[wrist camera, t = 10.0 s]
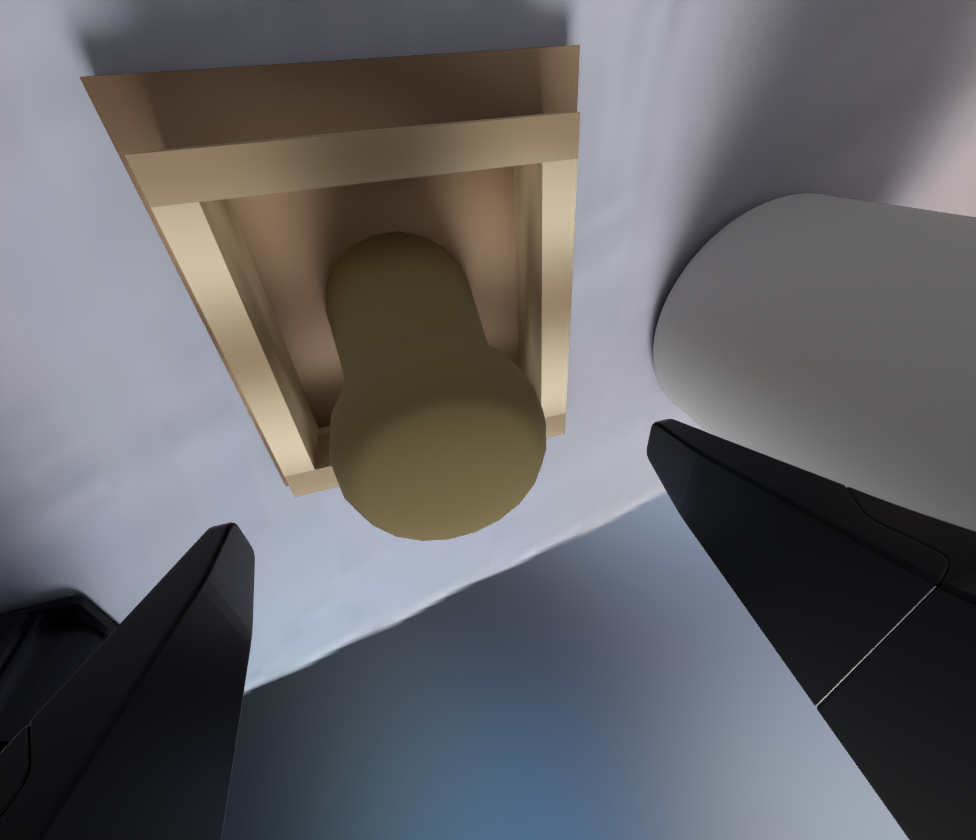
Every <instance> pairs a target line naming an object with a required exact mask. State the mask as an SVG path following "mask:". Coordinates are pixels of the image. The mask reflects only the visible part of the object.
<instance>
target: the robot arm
mask: <svg viewBox="0 0 976 840" xmlns="http://www.w3.org/2000/svg"><path fill="white" fill-rule="evenodd" d="M647 456H648V459H649V461H650V463H651V464H652V466H653V468H654V470H655V472H656V473H657V475H658V477H659V479H660V481H661V482H662V484H663V486H664V488H665V489H666V491H667V493H668V495H669V496H670V498H671V500H672V502H673V504H674V505H675V507H676V509H677V510H678V512H679V514H680V515H681V517H682V518H683V520H684V521H685V522H686V524H687V525H688V527H689V528H690V530H691V531H692V533H693V534H694V535H695V537H696V538H697V540H698V541H699V542H700V544H701V545H702V547H703V548H704V550H705V551H706V552H707V554H708V555H709V557H710V558H711V559H712V561H713V562H714V564H715V565H716V566H717V568H718V569H719V571H720V572H721V574H722V575H723V576H724V578H725V579H726V580H727V582H728V583H729V585H730V586H731V588H732V589H733V590H734V592H735V593H736V595H737V596H738V598H739V599H740V600H741V602H742V603H743V605H744V606H745V607H746V609H747V610H748V612H749V613H750V615H751V616H752V617H753V619H754V620H755V621H756V623H757V624H758V626H759V627H760V629H761V630H762V632H763V633H764V634H765V636H766V637H767V639H768V640H769V641H770V643H771V644H772V646H773V647H774V648H775V650H776V651H777V653H778V654H779V656H780V657H781V658H782V660H783V661H784V663H785V664H786V665H787V667H788V668H789V670H790V671H791V673H792V674H793V675H794V677H795V678H796V680H797V681H798V682H799V684H800V685H801V687H802V688H803V689H804V691H805V692H806V694H807V695H808V697H809V698H810V699H811V701H812V702H813V704H814V705H815V706H817V710H818V711H819V713H820V714H821V715H822V717H823V718H824V720H825V721H826V722H827V724H828V725H829V727H830V728H831V729H832V731H833V732H834V734H835V735H836V737H837V738H838V739H839V741H840V742H841V744H842V745H843V746H844V748H845V749H846V751H847V752H848V754H849V755H850V756H851V758H852V759H853V761H854V762H855V763H856V765H857V766H858V768H859V769H860V770H861V772H862V773H863V775H864V776H865V777H866V779H867V780H868V782H869V783H870V785H871V786H872V787H873V789H874V790H875V792H876V793H877V795H878V796H879V797H880V798H881V800H882V801H883V803H884V804H885V806H886V807H887V809H888V810H889V811H890V813H891V814H892V816H893V817H894V819H895V820H896V821H897V823H898V824H899V826H900V827H901V828H902V830H903V831H904V833H905V834H906V835H907V837H908V838H909V840H976V531H973V530H970V529H967V528H964V527H961V526H958V525H955V524H952V523H949V522H946V521H943V520H940V519H937V518H934V517H931V516H928V515H925V514H922V513H919V512H916V511H913V510H910V509H907V508H904V507H902V506H899V505H896V504H893V503H891V502H888V501H885V500H882V499H880V498H877V497H874V496H872V495H869V494H866V493H864V492H861V491H859V490H856V489H854V488H851V487H845V485H843V484H840V483H838V482H835V481H832V480H830V479H827V478H825V477H822V476H819V475H817V474H814V473H812V472H809V471H806V470H804V469H801V468H799V467H796V466H793V465H791V464H788V463H786V462H783V461H780V460H778V459H775V458H772V457H770V456H767V455H765V454H762V453H759V452H757V451H754V450H752V449H749V448H746V447H744V446H741V445H739V444H736V443H733V442H731V441H728V440H725V439H723V438H720V437H718V436H715V435H712V434H710V433H707V432H705V431H702V430H699V429H697V428H694V427H692V426H689V425H686V424H684V423H681V422H678V421H676V420H673V419H666V420H662V421H658V422H655V423H654V424H653V425H652V427H651V431H650V436H649V441H648V446H647ZM254 567H255V556H254V551H253V549H252V547H251V545H250V543H249V542H248V540H247V539H246V537H245V536H244V534H243V533H242V531H241V530H240V528H239V527H238V526H237V524H235V523H226V524H222V525H217V526H213V527H211V528H209V529H208V530H207V531H206V532H205V533H204V534H203V535H202V536H201V537H200V538H199V540H198V541H197V542H196V543H195V544H194V545H193V546H192V547H191V548H190V549H189V550H188V551H187V552H186V554H185V555H184V556H183V557H182V558H181V559H180V560H179V561H178V562H177V563H176V564H175V565H174V566H173V568H172V569H171V570H170V571H169V572H168V573H167V574H166V575H165V576H164V577H163V578H162V579H161V580H160V582H159V583H158V584H157V585H156V586H155V587H154V588H153V589H152V590H151V591H150V592H149V593H148V594H147V596H146V597H145V598H144V599H143V600H142V601H141V602H140V603H139V604H138V605H137V606H136V607H135V608H134V610H133V611H132V612H131V613H130V614H129V615H128V616H127V617H126V618H125V619H124V620H123V621H122V622H121V624H120V625H119V626H116V625H115V624H114V623H113V622H112V621H111V620H109V619H108V618H107V617H106V616H105V615H104V614H102V613H101V612H100V611H99V610H98V609H97V608H95V607H94V606H93V605H92V604H91V603H90V602H88V601H87V600H86V599H84V598H82V597H78V596H72V597H67V598H63V599H59V600H55V601H51V602H47V603H43V604H39V605H35V606H31V607H27V608H23V609H19V610H15V611H12V612H8V613H4V614H0V840H221V837H222V831H223V825H224V818H225V812H226V805H227V799H228V792H229V785H230V778H231V772H232V765H233V759H234V752H235V745H236V739H237V731H238V726H239V719H240V713H241V706H242V699H243V693H244V686H245V680H246V673H247V666H248V660H249V653H250V646H251V638H252V627H253V600H254Z"/></svg>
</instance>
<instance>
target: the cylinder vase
mask: <svg viewBox="0 0 976 840" xmlns="http://www.w3.org/2000/svg"><path fill="white" fill-rule="evenodd" d="M653 362H654V369H655V374H656V377H657V380H658V383H659V385H660V387H661V389H662V390H663V392H664V393H665V395H666V396H667V397H668V398H669V399H670V400H671V401H672V402H673V403H674V404H675V405H676V406H677V407H679V408H680V409H681V410H682V411H683V412H684V413H686V414H687V415H688V416H689V417H690V418H691V419H693V420H694V421H695V422H696V423H697V424H698V425H700V426H701V427H702V428H703V429H704V430H705V431H707V432H708V433H710V434H712V435H715V436H718V437H720V438H723V439H725V440H728V441H731V442H733V443H736V444H739V445H741V446H744V447H746V448H749V449H752V450H754V451H757V452H759V453H762V454H765V455H767V456H770V457H772V458H775V459H778V460H780V461H783V462H786V463H788V464H791V465H793V466H796V467H799V468H801V469H804V470H806V471H809V472H812V473H814V474H817V475H819V476H822V477H825V478H827V479H830V480H832V481H835V482H838V483H840V484H843V485H845V487H851V488H854V489H856V490H859V491H861V492H864V493H866V494H869V495H872V496H874V497H877V498H880V499H882V500H885V501H888V502H891V503H893V504H896V505H899V506H902V507H904V508H907V509H910V510H913V511H916V512H919V513H922V514H925V515H928V516H931V517H934V518H937V519H940V520H943V521H946V522H949V523H952V524H955V525H958V526H961V527H964V528H967V529H970V530H973V531H976V217H970V216H963V215H957V214H950V213H943V212H937V211H930V210H923V209H917V208H910V207H903V206H897V205H890V204H883V203H877V202H870V201H863V200H857V199H850V198H843V197H837V196H830V195H823V194H815V193H803V194H794V195H788V196H784V197H780V198H777V199H774V200H771V201H768V202H766V203H763V204H761V205H759V206H757V207H755V208H753V209H751V210H749V211H747V212H746V213H744V214H742V215H741V216H739V217H738V218H736V219H735V220H733V221H732V222H730V223H729V224H728V225H726V226H725V227H724V228H723V229H721V230H720V231H719V232H718V233H717V234H716V235H714V236H713V237H712V238H711V239H710V240H709V241H708V242H707V243H706V244H705V245H704V246H703V247H702V248H701V249H700V250H699V251H698V253H697V254H696V255H695V256H694V257H693V258H692V260H691V261H690V262H689V263H688V265H687V266H686V268H685V269H684V270H683V272H682V273H681V275H680V276H679V278H678V279H677V281H676V283H675V284H674V286H673V288H672V289H671V291H670V293H669V295H668V297H667V299H666V302H665V304H664V306H663V309H662V311H661V314H660V317H659V320H658V323H657V327H656V331H655V337H654V344H653Z"/></svg>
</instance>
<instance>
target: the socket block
mask: <svg viewBox="0 0 976 840" xmlns="http://www.w3.org/2000/svg"><path fill="white" fill-rule="evenodd" d="M579 50H580V45H571V46H555V47H540V48H524V49H508V50H493V51H477V52H462V53H446V54H430V55H415V56H399V57H383V58H368V59H352V60H337V61H321V62H305V63H290V64H274V65H258V66H243V67H227V68H212V69H196V70H180V71H165V72H149V73H133V74H118V75H102V76H87V77H80V79H81V81H82V83H83V85H84V87H85V89H86V91H87V93H88V95H89V97H90V99H91V101H92V103H93V105H94V107H95V109H96V111H97V113H98V115H99V117H100V119H101V121H102V123H103V125H104V127H105V129H106V131H107V132H108V134H109V136H110V138H111V140H112V142H113V144H114V146H115V148H116V150H117V152H118V154H119V156H120V158H121V160H122V162H123V164H124V166H125V168H126V170H127V172H128V174H129V176H130V178H131V180H132V182H133V184H134V186H135V188H136V190H137V192H138V194H139V196H140V198H141V200H142V202H143V204H144V206H145V208H146V210H147V212H148V214H149V216H150V218H151V220H152V222H153V224H154V226H155V228H156V230H157V232H158V234H159V236H160V238H161V240H162V242H163V244H164V246H165V248H166V250H167V252H168V254H169V255H170V257H171V259H172V261H173V263H174V265H175V267H176V269H177V271H178V273H179V275H180V277H181V279H182V281H183V283H184V285H185V287H186V289H187V291H188V293H189V295H190V297H191V299H192V301H193V303H194V305H195V307H196V309H197V311H198V313H199V315H200V317H201V319H202V321H203V323H204V325H205V327H206V329H207V331H208V333H209V335H210V337H211V339H212V341H213V343H214V345H215V347H216V349H217V351H218V353H219V355H220V357H221V359H222V361H223V363H224V365H225V367H226V369H227V371H228V373H229V375H230V376H231V378H232V380H233V382H234V384H235V386H236V388H237V390H238V392H239V394H240V396H241V398H242V400H243V402H244V404H245V406H246V408H247V410H248V412H249V414H250V416H251V418H252V420H253V422H254V424H255V426H256V428H257V430H258V432H259V434H260V436H261V438H262V440H263V442H264V444H265V446H266V448H267V450H268V452H269V454H270V456H271V458H272V460H273V462H274V464H275V466H276V468H277V470H278V472H279V474H280V476H281V478H282V480H283V482H284V484H285V486H289V487H290V489H291V491H292V493H293V495H294V497H297V496H301V495H305V494H310V493H314V492H318V491H322V490H327V489H331V488H335V487H339V483H338V481H337V478H336V476H335V474H334V471H333V468H332V465H331V463H330V460H329V441H330V422H331V413H332V411H333V409H334V407H335V405H336V402H337V400H338V398H339V396H340V394H341V391H342V389H343V387H344V385H345V383H346V381H345V378H344V374H343V371H342V367H341V363H340V360H339V356H338V353H337V349H336V346H335V342H334V338H333V335H332V331H331V328H330V324H329V321H328V317H327V313H326V287H327V284H328V281H329V279H330V276H331V274H332V271H333V269H334V266H335V264H336V263H337V262H338V261H339V260H340V259H341V258H342V257H343V255H344V254H345V253H346V252H347V251H348V250H349V249H350V248H351V247H352V246H354V245H355V244H357V243H359V242H361V241H363V240H365V239H367V238H369V237H370V236H372V235H376V234H383V233H390V232H397V231H400V232H405V233H410V234H416V235H421V236H424V237H426V238H428V239H430V240H431V241H433V242H435V243H437V244H439V245H440V246H442V247H444V248H445V249H446V250H447V251H448V252H449V253H450V254H451V255H452V257H453V258H454V259H455V260H456V261H457V262H458V263H459V264H460V265H461V268H462V270H463V272H464V274H465V277H466V279H467V281H468V283H469V285H470V288H471V292H472V295H473V298H474V301H475V304H476V307H477V311H478V314H479V317H480V320H481V323H482V326H483V330H484V333H485V336H486V339H487V342H488V345H489V346H492V347H494V348H496V349H497V350H499V351H501V352H503V353H504V354H505V355H506V356H507V357H508V358H509V359H510V360H511V361H512V362H513V363H514V364H515V365H516V366H517V367H518V368H519V369H520V370H521V371H522V372H523V373H524V374H525V375H526V377H527V378H528V379H529V381H530V382H531V383H532V385H533V387H534V389H535V392H536V394H537V397H538V399H539V401H540V404H541V406H542V409H543V412H544V417H545V421H546V438H548V437H552V436H556V435H560V434H565V420H566V399H567V378H568V356H569V335H570V313H571V292H572V271H573V249H574V228H575V207H576V185H577V164H578V143H579V121H580V112H577V97H578V74H579Z"/></svg>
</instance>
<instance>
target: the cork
mask: <svg viewBox="0 0 976 840" xmlns="http://www.w3.org/2000/svg"><path fill="white" fill-rule="evenodd" d="M326 313H327V317H328V321H329V324H330V328H331V331H332V335H333V338H334V342H335V346H336V349H337V353H338V356H339V360H340V363H341V367H342V371H343V374H344V378H345V381H346V383H345V385H344V387H343V389H342V391H341V394H340V396H339V398H338V400H337V402H336V405H335V407H334V409H333V411H332V413H331V422H330V441H329V460H330V463H331V465H332V468H333V471H334V474H335V476H336V478H337V481H338V483H339V486H340V488H341V491H342V493H343V496H344V498H345V499H346V500H347V501H348V502H349V503H350V504H351V505H352V506H353V507H354V508H355V509H356V510H357V511H358V512H359V513H360V514H361V515H362V516H363V517H364V518H365V519H366V520H368V521H369V522H370V523H371V524H372V525H373V526H375V527H377V528H380V529H382V530H384V531H386V532H388V533H390V534H392V535H394V536H397V537H403V538H408V539H414V540H420V541H428V540H444V539H452V538H455V537H459V536H463V535H466V534H470V533H474V532H476V531H478V530H480V529H482V528H484V527H486V526H488V525H490V524H492V523H494V522H496V521H498V520H500V519H501V518H502V517H504V516H505V515H506V514H507V513H509V512H510V511H511V510H512V509H513V508H515V507H516V506H517V505H518V504H520V502H521V501H522V500H523V498H524V497H525V496H526V494H527V493H528V492H529V490H530V489H531V488H532V486H533V485H534V484H535V481H536V478H537V476H538V473H539V470H540V468H541V465H542V462H543V458H544V454H545V451H546V421H545V417H544V412H543V409H542V406H541V404H540V401H539V399H538V397H537V394H536V392H535V389H534V387H533V385H532V383H531V382H530V381H529V379H528V378H527V377H526V375H525V374H524V373H523V372H522V371H521V370H520V369H519V368H518V367H517V366H516V365H515V364H514V363H513V362H512V361H511V360H510V359H509V358H508V357H507V356H506V355H505V354H504V353H503V352H501V351H499V350H497V349H496V348H494V347H492V346H489V345H488V342H487V339H486V336H485V333H484V330H483V326H482V323H481V320H480V317H479V314H478V311H477V307H476V304H475V301H474V298H473V295H472V292H471V288H470V285H469V283H468V281H467V279H466V277H465V274H464V272H463V270H462V268H461V265H460V264H459V263H458V262H457V261H456V260H455V259H454V258H453V257H452V255H451V254H450V253H449V252H448V251H447V250H446V249H445V248H444V247H442V246H440V245H439V244H437V243H435V242H433V241H431V240H430V239H428V238H426V237H424V236H421V235H416V234H410V233H405V232H400V231H397V232H390V233H383V234H376V235H372V236H370V237H369V238H367V239H365V240H363V241H361V242H359V243H357V244H355V245H354V246H352V247H351V248H350V249H349V250H348V251H347V252H346V253H345V254H344V255H343V257H342V258H341V259H340V260H339V261H338V262H337V263H336V264H335V266H334V269H333V271H332V274H331V276H330V279H329V281H328V284H327V287H326Z"/></svg>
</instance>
